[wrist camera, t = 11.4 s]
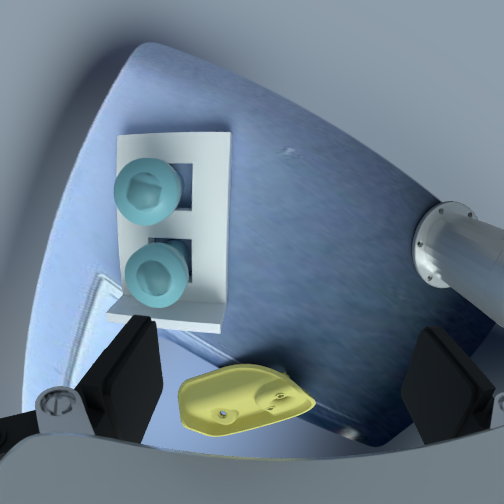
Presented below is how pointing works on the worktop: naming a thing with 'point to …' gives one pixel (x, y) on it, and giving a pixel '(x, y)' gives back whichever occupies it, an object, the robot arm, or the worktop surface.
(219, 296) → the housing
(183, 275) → the teal flanged peg
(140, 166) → the teal round plug
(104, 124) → the worktop surface
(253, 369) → the plastic component
